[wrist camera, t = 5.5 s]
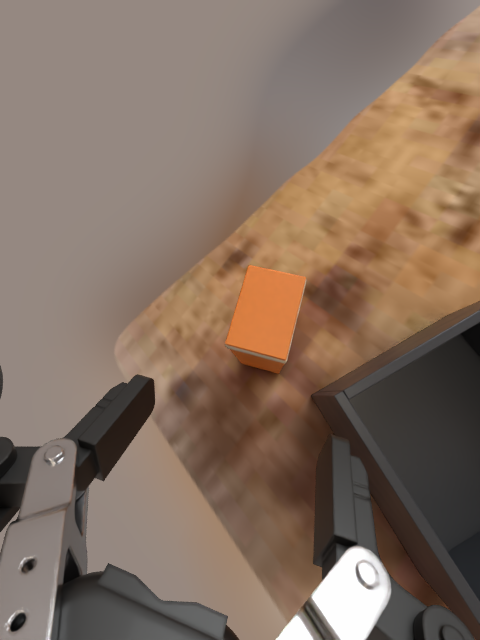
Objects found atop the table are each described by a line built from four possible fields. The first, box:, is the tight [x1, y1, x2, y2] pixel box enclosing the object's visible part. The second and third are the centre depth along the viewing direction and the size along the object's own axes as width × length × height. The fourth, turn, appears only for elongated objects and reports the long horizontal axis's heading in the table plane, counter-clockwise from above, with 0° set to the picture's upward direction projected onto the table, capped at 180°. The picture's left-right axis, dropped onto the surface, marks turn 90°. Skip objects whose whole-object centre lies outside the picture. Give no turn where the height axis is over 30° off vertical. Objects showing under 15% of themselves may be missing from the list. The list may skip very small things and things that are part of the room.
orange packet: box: [225, 265, 306, 374], centre depth 20 cm, size 5×4×10 cm
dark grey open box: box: [311, 301, 480, 640], centre depth 18 cm, size 14×14×8 cm
